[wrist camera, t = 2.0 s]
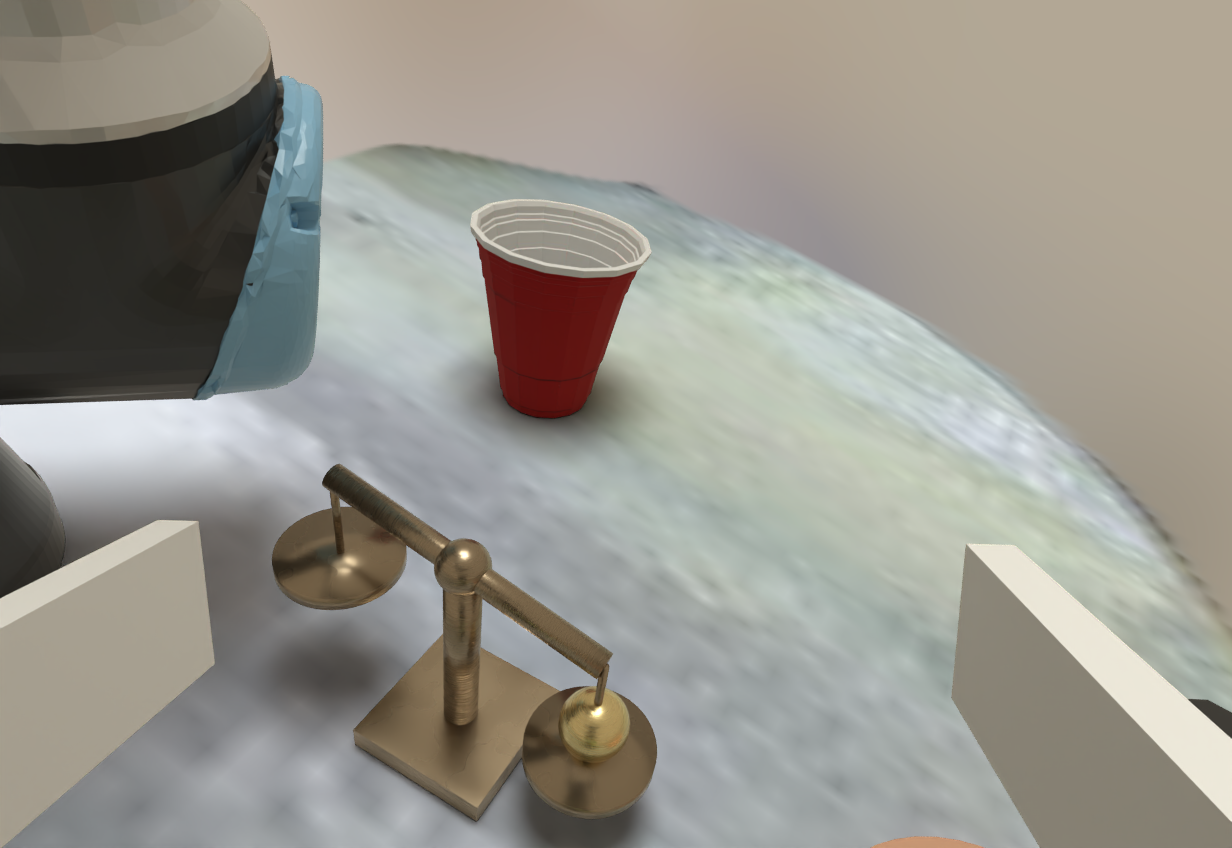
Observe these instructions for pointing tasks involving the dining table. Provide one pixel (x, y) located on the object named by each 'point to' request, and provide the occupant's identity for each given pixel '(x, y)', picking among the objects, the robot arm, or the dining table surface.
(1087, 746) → the robot arm
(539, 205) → the plastic cup
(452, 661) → the balance
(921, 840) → the dish
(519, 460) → the dining table surface
